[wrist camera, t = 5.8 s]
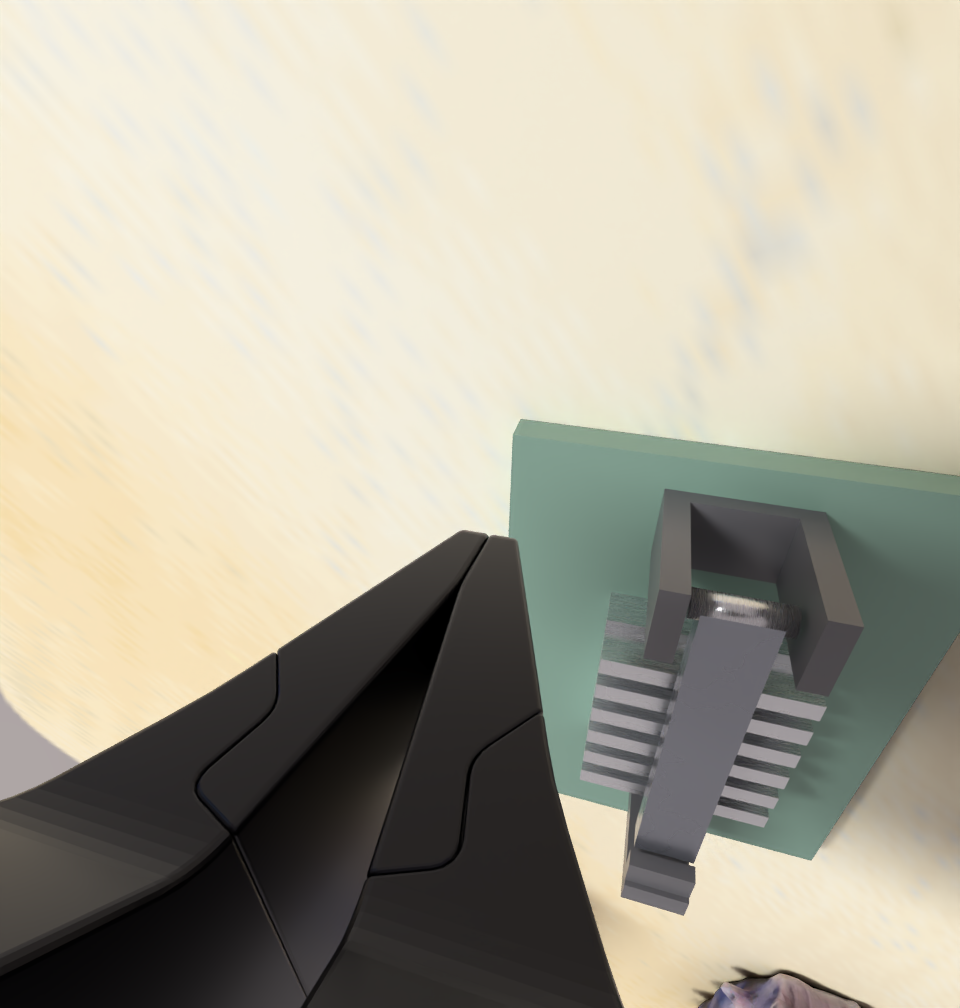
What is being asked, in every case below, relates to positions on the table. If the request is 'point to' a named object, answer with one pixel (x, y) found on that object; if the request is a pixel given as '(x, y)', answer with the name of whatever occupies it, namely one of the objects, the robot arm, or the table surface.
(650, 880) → the lug
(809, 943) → the table surface
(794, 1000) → the cell model
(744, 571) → the pivot mount
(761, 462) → the board
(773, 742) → the heatsink
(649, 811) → the strap
